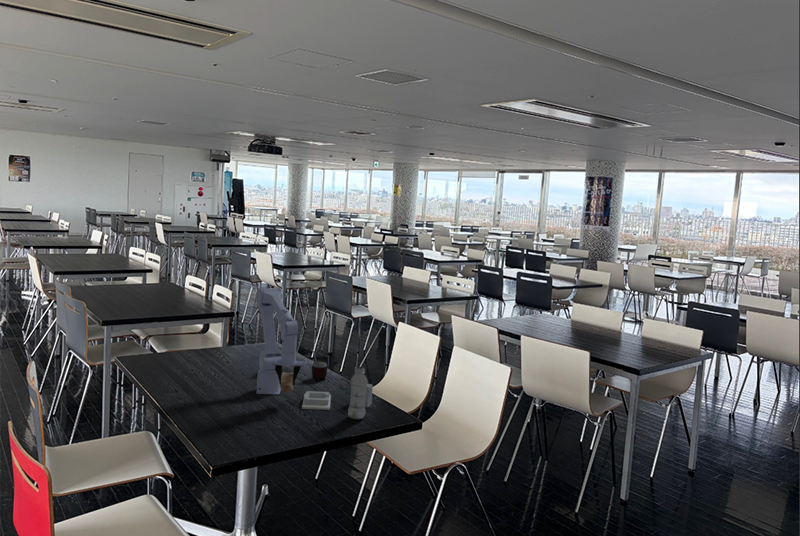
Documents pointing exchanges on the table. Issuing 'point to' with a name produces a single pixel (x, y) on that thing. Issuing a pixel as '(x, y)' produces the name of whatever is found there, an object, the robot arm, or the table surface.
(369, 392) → the medicine box
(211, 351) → the table surface
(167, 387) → the table surface
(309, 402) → the keyed cradle
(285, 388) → the keyed peg
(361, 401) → the plastic bottle
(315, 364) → the mate gourd
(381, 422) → the table surface
